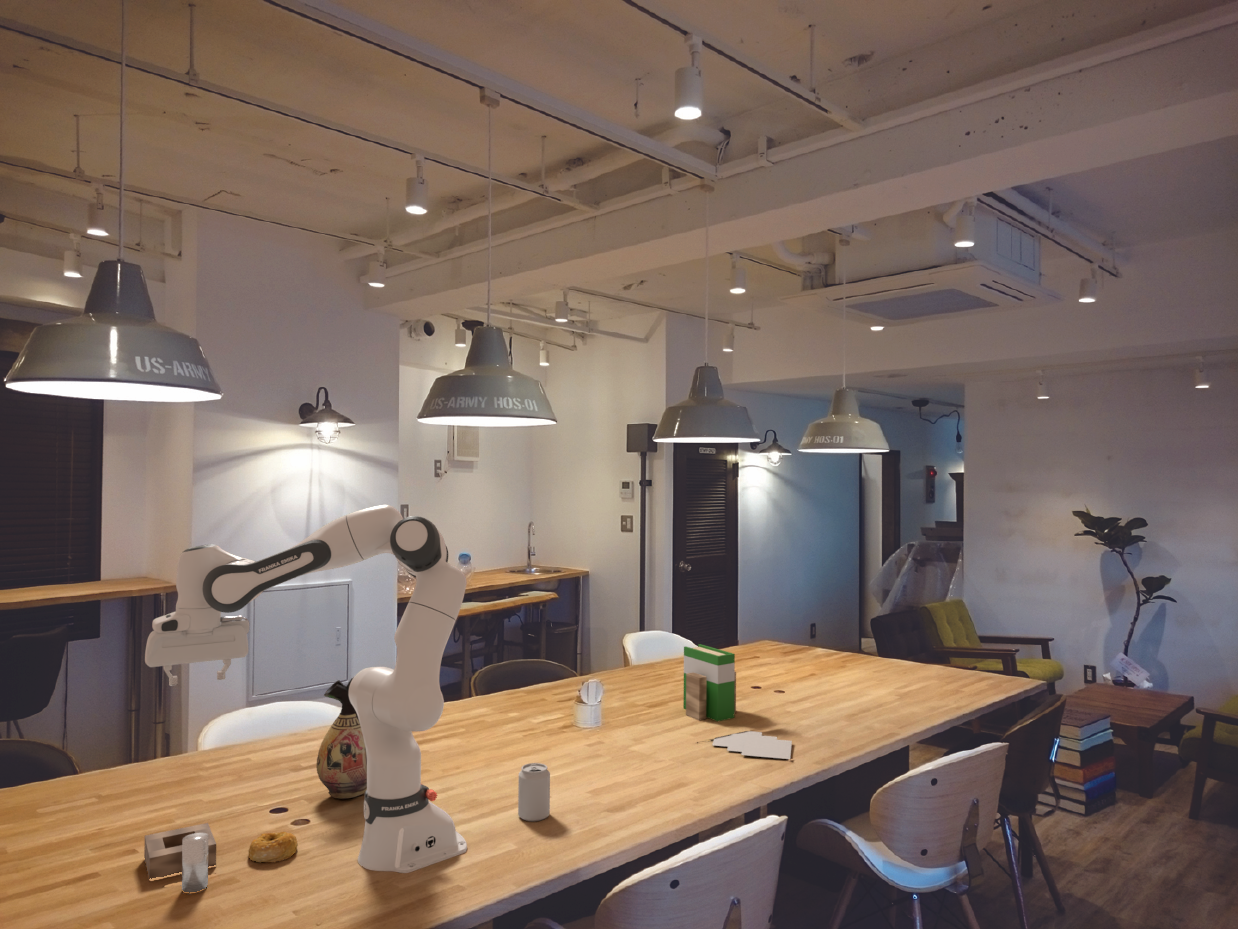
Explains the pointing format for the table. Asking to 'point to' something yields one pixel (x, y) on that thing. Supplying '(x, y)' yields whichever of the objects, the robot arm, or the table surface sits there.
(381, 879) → the table surface
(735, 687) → the bookend far
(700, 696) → the bookend near
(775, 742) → the paper stack
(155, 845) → the pocket block
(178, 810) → the table surface
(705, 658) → the hardback book
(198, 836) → the part
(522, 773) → the can
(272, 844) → the bagel
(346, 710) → the ceramic jug
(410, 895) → the table surface
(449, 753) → the table surface
